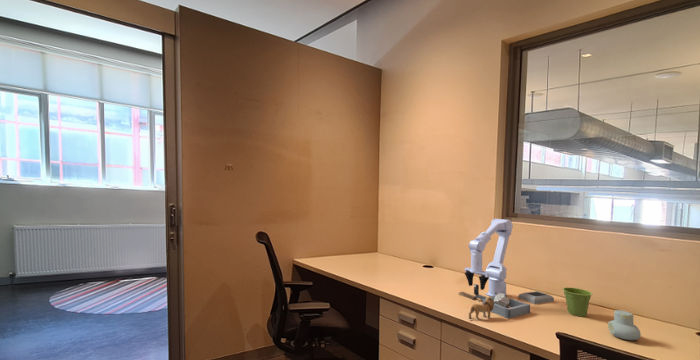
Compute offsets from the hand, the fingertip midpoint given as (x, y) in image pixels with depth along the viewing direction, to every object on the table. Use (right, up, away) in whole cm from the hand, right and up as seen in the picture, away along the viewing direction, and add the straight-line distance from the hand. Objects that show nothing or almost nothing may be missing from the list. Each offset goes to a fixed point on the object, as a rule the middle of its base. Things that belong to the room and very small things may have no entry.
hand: (476, 287), depth 169 cm
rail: (-3, -7, +4) cm, 9 cm away
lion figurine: (-8, -5, -26) cm, 28 cm away
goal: (+8, -6, -16) cm, 19 cm away
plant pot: (+42, -7, -17) cm, 46 cm away
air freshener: (+43, -6, -42) cm, 61 cm away
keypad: (+34, -9, +3) cm, 35 cm away
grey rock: (+7, -6, -13) cm, 16 cm away
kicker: (+2, -6, -4) cm, 8 cm away
